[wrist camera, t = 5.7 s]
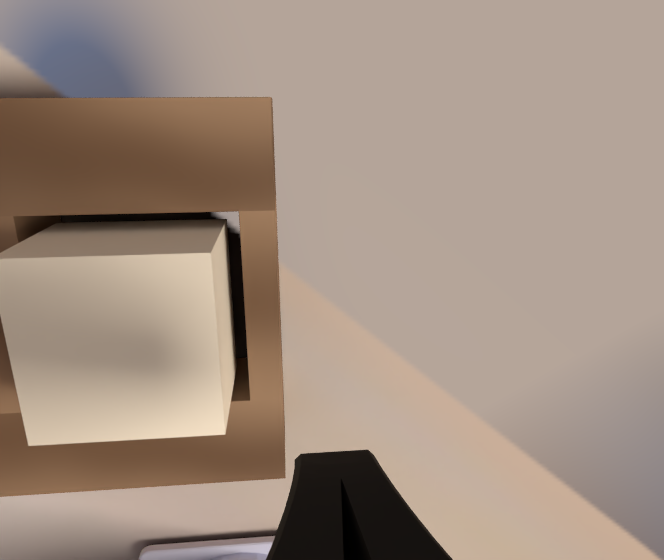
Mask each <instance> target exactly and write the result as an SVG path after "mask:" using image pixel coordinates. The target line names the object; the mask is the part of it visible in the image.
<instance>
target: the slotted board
mask: <svg viewBox="0 0 664 560" xmlns="http://www.w3.org/2000/svg"><path fill="white" fill-rule="evenodd" d="M225 211H226V212H227V211H239V221H240V239H241V255H242V272H243V288H244V305H245V321H246V338H247V354H248V358H236V364H237V367H236V373H235V379H234V385H233V391H232V397H231V403H230V409H229V415H228V421H227V427H226V433H225V435H210V436H193V437H176V438H158V439H141V440H124V441H107V442H89V443H72V444H55V445H37V446H28V441H27V437H26V432H25V427H24V423H23V418H22V414H21V409H20V404H19V400H18V395H17V390H16V386H15V381H14V377H13V372H12V367H11V363H10V358H9V353H8V349H7V344H6V340H5V335H4V330H3V326H2V321H1V316H0V497H4V496H19V495H35V494H50V493H65V492H80V491H96V490H111V489H126V488H141V487H157V486H172V485H187V484H203V483H218V482H233V481H248V480H264V479H279V478H285V423H284V397H283V370H282V344H281V318H280V291H279V265H278V240H277V213H276V188H275V161H274V135H273V107H272V98H271V97H207V98H206V97H205V98H204V97H197V98H195V97H193V98H192V97H189V98H188V97H187V98H186V97H185V98H184V97H183V98H179V97H178V98H175V97H174V98H0V253H1V252H3V251H5V250H6V249H8V248H10V247H12V246H14V245H16V244H18V243H20V242H22V241H23V240H25V239H27V238H29V237H31V236H33V235H35V234H37V233H39V232H40V231H42V230H44V229H46V228H48V227H50V226H52V225H54V224H56V223H61V217H60V215H92V214H137V213H182V212H225Z"/></svg>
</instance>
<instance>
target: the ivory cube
mask: <svg viewBox="0 0 664 560" xmlns="http://www.w3.org/2000/svg"><path fill="white" fill-rule="evenodd" d="M0 316H1V321H2V326H3V330H4V335H5V340H6V344H7V349H8V353H9V358H10V363H11V367H12V372H13V377H14V381H15V386H16V390H17V395H18V400H19V404H20V409H21V414H22V418H23V423H24V427H25V432H26V437H27V441H28V446H37V445H55V444H72V443H89V442H107V441H124V440H141V439H158V438H176V437H193V436H210V435H225V433H226V427H227V421H228V415H229V409H230V403H231V397H232V391H233V385H234V379H235V373H236V367H237V364H236V349H235V335H234V320H233V305H232V291H231V276H230V261H229V246H228V232H227V219H211V220H168V221H125V222H83V223H56V224H54V225H52V226H50V227H48V228H46V229H44V230H42V231H40V232H39V233H37V234H35V235H33V236H31V237H29V238H27V239H25V240H23V241H22V242H20V243H18V244H16V245H14V246H12V247H10V248H8V249H6V250H5V251H3V252H1V253H0Z"/></svg>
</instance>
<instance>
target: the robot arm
mask: <svg viewBox="0 0 664 560" xmlns="http://www.w3.org/2000/svg"><path fill="white" fill-rule="evenodd" d="M139 560H453V559H452V558H451V557H450V556H449V555H448V554H447V553H446V551H445V550H444V549H443V548H442V547H441V546H440V544H439V543H438V542H437V541H436V540H435V539H434V537H433V536H432V535H431V534H430V532H429V531H428V530H427V529H426V527H425V526H424V525H423V524H422V522H421V521H420V520H419V519H418V517H417V516H416V515H415V514H414V512H413V511H412V510H411V509H410V507H409V506H408V505H407V503H406V502H405V501H404V499H403V498H402V497H401V495H400V494H399V492H398V491H397V490H396V488H395V487H394V485H393V484H392V483H391V481H390V480H389V478H388V477H387V475H386V474H385V472H384V471H383V469H382V468H381V466H380V465H379V463H378V461H377V460H376V458H375V456H374V455H373V454H372V453H371V452H370V451H369V450H356V451H340V452H323V453H307V454H300V455H299V456H298V457H297V458H296V459H295V469H294V475H293V481H292V485H291V489H290V493H289V496H288V500H287V503H286V507H285V510H284V513H283V516H282V518H281V521H280V524H279V527H278V530H277V533H276V535H275V536H266V537H253V538H239V539H226V540H212V541H199V542H186V543H172V544H159V545H150V546H146V547H145V548H143V549H142V551H141V553H140V556H139Z"/></svg>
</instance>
